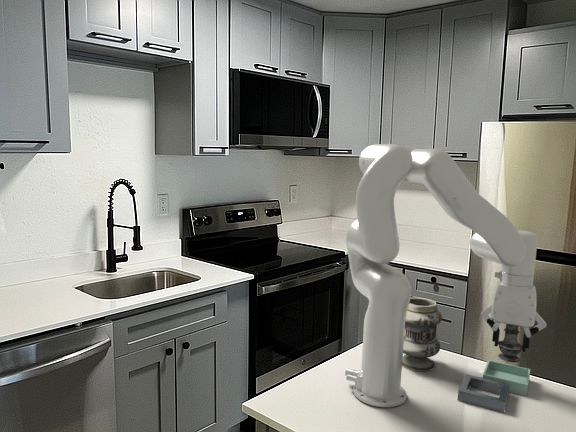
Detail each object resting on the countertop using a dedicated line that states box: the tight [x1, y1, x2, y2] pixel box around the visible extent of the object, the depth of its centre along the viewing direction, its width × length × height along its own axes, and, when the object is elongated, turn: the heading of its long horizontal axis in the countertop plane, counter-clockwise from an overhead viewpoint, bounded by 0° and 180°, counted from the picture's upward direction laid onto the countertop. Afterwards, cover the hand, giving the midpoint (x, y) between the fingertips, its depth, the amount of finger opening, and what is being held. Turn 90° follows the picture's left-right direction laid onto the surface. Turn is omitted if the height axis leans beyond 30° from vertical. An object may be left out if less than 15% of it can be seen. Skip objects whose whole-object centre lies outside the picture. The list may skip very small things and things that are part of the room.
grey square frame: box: [457, 373, 510, 413], centre depth 121 cm, size 10×10×2 cm
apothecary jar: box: [402, 297, 443, 372], centre depth 137 cm, size 12×12×18 cm
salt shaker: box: [497, 324, 523, 363], centre depth 127 cm, size 6×6×12 cm
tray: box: [482, 359, 531, 397], centre depth 129 cm, size 10×10×3 cm
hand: (510, 346), depth 128 cm, fingers closed on salt shaker, 5 cm apart
